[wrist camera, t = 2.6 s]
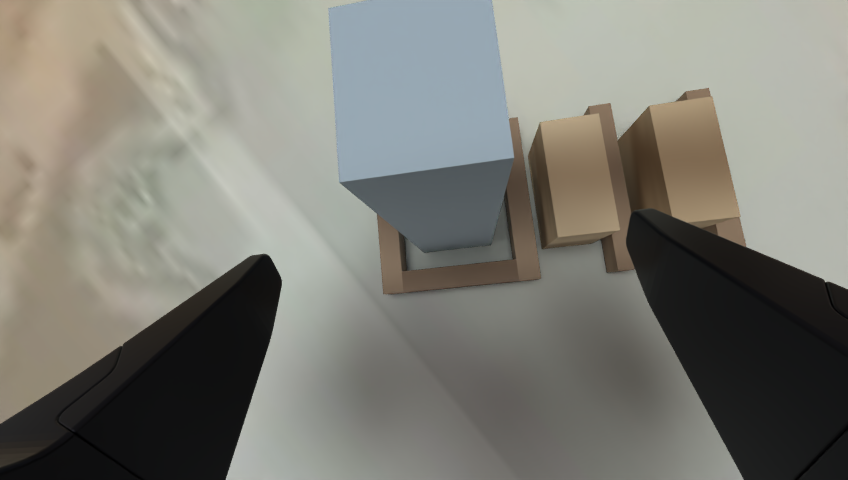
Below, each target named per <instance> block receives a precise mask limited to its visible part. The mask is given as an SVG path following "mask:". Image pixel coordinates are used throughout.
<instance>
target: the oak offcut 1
mask: <svg viewBox="0 0 848 480" xmlns="http://www.w3.org/2000/svg"><path fill="white" fill-rule="evenodd" d="M528 159H529V166H530V172H531V179H532V186H533V193H534V200H535V206H536V213H537V220H538V227H539V233H540V240H541V247H542V249H547V248H556V247H565V246H574V245H583V244H591V243H593V242H596V241H598V240H600V239H602V238H604V237H606V236H609V235H611V234H613V233H615V232H617V231H620V227H619V221H618V216H617V210H616V205H615V199H614V194H613V188H612V183H611V177H610V172H609V166H608V161H607V156H606V150H605V145H604V139H603V134H602V128H601V123H600V117H599V113H598V114H591V115H584V116H578V117H571V118H565V119H558V120H551V121H545V122H540V124H539V127H538V129H537V132H536V135H535V138H534V141H533V143H532V146H531V149H530V152H529V154H528Z"/></svg>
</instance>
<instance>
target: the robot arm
mask: <svg viewBox="0 0 848 480" xmlns="http://www.w3.org/2000/svg"><path fill="white" fill-rule="evenodd" d="M626 246H627V250H628V252H629V255H630V257H631V260H632V263H633V265H634V268H635V270H636V273H637V276H638V278H639V281H640V283H641V286H642V288H643V291H644V294H645V296H646V298H647V301H648V303H649V305H650V307H651V309H652V311H653V313H654V314H655V316H656V318H657V320H658V322H659V324H660V326H661V327H662V329H663V331H664V333H665V335H666V337H667V338H668V340H669V342H670V344H671V346H672V348H673V349H674V351H675V353H676V355H677V357H678V359H679V361H680V362H681V364H682V366H683V368H684V370H685V372H686V373H687V375H688V377H689V379H690V381H691V383H692V385H693V386H694V388H695V390H696V392H697V394H698V396H699V397H700V399H701V401H702V403H703V405H704V407H705V409H706V410H707V412H708V414H709V416H710V418H711V420H712V421H713V423H714V425H715V427H716V429H717V431H718V433H719V434H720V436H721V438H722V440H723V442H724V444H725V445H726V447H727V449H728V451H729V453H730V455H731V457H732V458H733V460H734V462H735V464H736V466H737V468H738V469H739V471H740V473H741V475H742V477H743V479H744V480H848V289H845V288H843V287H841V286H838V285H836V284H834V283H831V282H825V281H824V280H823V279H821V278H819V277H817V276H814V275H812V274H809V273H807V272H805V271H802V270H800V269H797V268H795V267H793V266H790V265H788V264H785V263H783V262H781V261H778V260H776V259H773V258H771V257H769V256H766V255H764V254H761V253H759V252H757V251H754V250H752V249H749V248H747V247H745V246H742V245H740V244H737V243H735V242H733V241H730V240H728V239H725V238H723V237H721V236H718V235H716V234H713V233H711V232H709V231H706V230H704V229H701V228H699V227H697V226H694V225H692V224H689V223H687V222H685V221H682V220H680V219H677V218H675V217H673V216H670V215H668V214H665V213H663V212H661V211H658V210H656V209H653V208H647V209H639V210H634V211H633V212H632V213H631V215H630V220H629V225H628V231H627V236H626ZM281 287H282V280H281V277H280V274H279V273H278V271H277V269H276V267H275V265H274V263H273V261H272V259H271V258H270V256H269V255H267V254H259V255H252V256H250V257H248V258H247V259H245V260H244V261H242V262H241V263H240V264H238V265H237V266H235V267H234V268H232V269H231V270H229V271H228V272H227V273H225V274H224V275H222V276H221V277H219V278H218V279H216V280H215V281H214V282H212V283H211V284H209V285H208V286H206V287H205V288H203V289H202V290H201V291H199V292H198V293H196V294H195V295H193V296H192V297H190V298H189V299H188V300H186V301H185V302H183V303H182V304H180V305H179V306H177V307H176V308H174V309H173V310H172V311H170V312H169V313H167V314H166V315H164V316H163V317H161V318H160V319H159V320H157V321H156V322H154V323H153V324H151V325H150V326H148V327H147V328H146V329H144V330H143V331H141V332H140V333H138V334H137V335H135V336H134V337H133V338H131V339H130V340H128V341H127V342H125V343H124V344H123V346H119V347H118V348H117V349H115V350H114V351H112V352H111V353H109V354H108V355H106V356H105V357H104V358H102V359H101V360H99V361H98V362H96V363H95V364H93V365H92V366H90V367H89V368H87V369H86V370H84V371H83V372H81V373H80V374H78V375H77V376H75V377H74V378H72V379H70V380H69V381H67V382H66V383H64V384H63V385H61V386H60V387H58V388H56V389H55V390H53V391H52V392H50V393H49V394H47V395H46V396H44V397H42V398H41V399H39V400H38V401H36V402H34V403H33V404H31V405H30V406H28V407H26V408H25V409H23V410H22V411H20V412H19V413H17V414H15V415H14V416H12V417H11V418H9V419H7V420H6V421H4V422H3V423H1V424H0V480H226V477H227V474H228V470H229V467H230V464H231V461H232V458H233V455H234V452H235V449H236V445H237V442H238V439H239V436H240V433H241V430H242V427H243V424H244V421H245V417H246V414H247V411H248V408H249V405H250V402H251V399H252V396H253V392H254V389H255V386H256V383H257V380H258V377H259V374H260V371H261V367H262V364H263V361H264V358H265V355H266V352H267V349H268V346H269V342H270V339H271V335H272V331H273V327H274V322H275V317H276V312H277V307H278V302H279V297H280V292H281Z"/></svg>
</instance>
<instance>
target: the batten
mask: <svg viewBox="0 0 848 480" xmlns="http://www.w3.org/2000/svg"><path fill="white" fill-rule="evenodd" d="M328 9H329V25H330V41H331V58H332V74H333V90H334V106H335V122H336V138H337V154H338V171H339V183H341V184H342V185H343V186H344V187H345V188H347V189H348V190H349V191H350V192H352V193H353V194H354V195H355V196H356V197H358V198H359V199H360V200H361V201H362V202H364V203H365V204H366V205H367V206H368V207H370V208H371V209H372V210H373V211H375V212H376V213H377V214H378V215H379V216H381V217H382V218H383V219H384V220H385V221H387V222H388V223H389V224H390V225H391V226H393V227H394V228H395V229H396V230H398V231H399V232H400V233H401V234H402V235H404V236H405V237H406V238H407V239H408V240H410V241H411V242H412V243H413V244H414V245H416V246H417V247H418V248H419V249H421V250H422V251H423V252H424V253H425V252H433V251H442V250H451V249H460V248H469V247H478V246H486V245H491V243H492V239H493V236H494V232H495V228H496V224H497V221H498V217H499V213H500V209H501V206H502V202H503V198H504V194H505V191H506V187H507V183H508V179H509V176H510V172H511V168H512V164H513V161H514V152H513V145H512V138H511V131H510V124H509V117H508V110H507V103H506V96H505V89H504V82H503V75H502V68H501V61H500V53H499V46H498V39H497V32H496V25H495V18H494V11H493V4H492V0H367V1H362V2H357V3H352V4H347V5H342V6H337V7H332V8H328Z"/></svg>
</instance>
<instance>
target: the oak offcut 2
mask: <svg viewBox="0 0 848 480" xmlns="http://www.w3.org/2000/svg"><path fill="white" fill-rule="evenodd" d="M618 146H619V151H620V156H621V162H622V167H623V172H624V178H625V183H626V188H627V193H628V199H629V204H630V209H631V213H632V212H633V211H634V210H639V209H647V208H653V209H656V210H658V211H661V212H663V213H665V214H668V215H670V216H673V217H675V218H677V219H680V220H682V221H685V222H687V223H689V224H692V225H694V226H697V227H699V228H704V227H708V226H711V225H714V224H718V223H721V222H724V221H728V220H731V219H734V218H737V217H741V216H740V212H739V208H738V203H737V199H736V195H735V191H734V187H733V182H732V178H731V174H730V170H729V165H728V161H727V157H726V153H725V149H724V144H723V140H722V136H721V132H720V128H719V123H718V119H717V115H716V111H715V106H714V102H713V98H712V96H711V97H704V98H698V99H691V100H684V101H678V102H671V103H664V104H658V105H651V106H649V107H648V108H647V109H646V110H645V111H644V112H643V113H642V114H641V115H640V117H639V118H638V119H637V120H636V121H635V122H634V123H633V124H632V125H631V127H630V128H629V129H628V130H627V131H626V132H625V133H624V134H623V135H622V137H621V138H620V139H619V140H618Z"/></svg>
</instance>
